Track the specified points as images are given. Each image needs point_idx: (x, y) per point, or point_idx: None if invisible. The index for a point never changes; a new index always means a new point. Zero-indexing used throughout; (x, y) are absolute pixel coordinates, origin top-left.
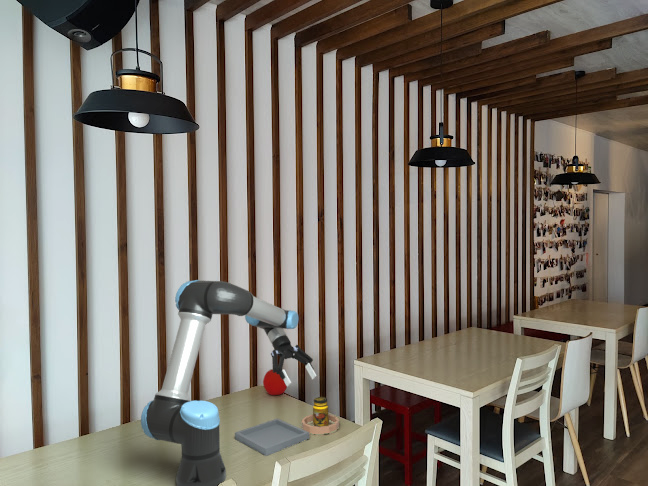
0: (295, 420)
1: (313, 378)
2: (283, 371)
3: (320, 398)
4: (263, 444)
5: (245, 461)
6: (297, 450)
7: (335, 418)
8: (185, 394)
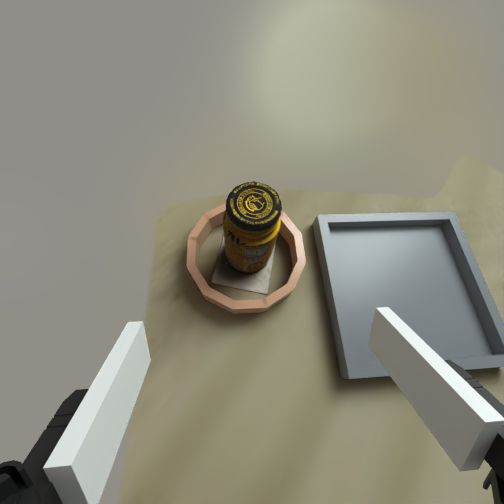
0: (269, 365)
1: (146, 349)
2: (482, 399)
3: (248, 209)
4: (437, 261)
5: (489, 228)
6: (366, 198)
7: (200, 230)
8: None
